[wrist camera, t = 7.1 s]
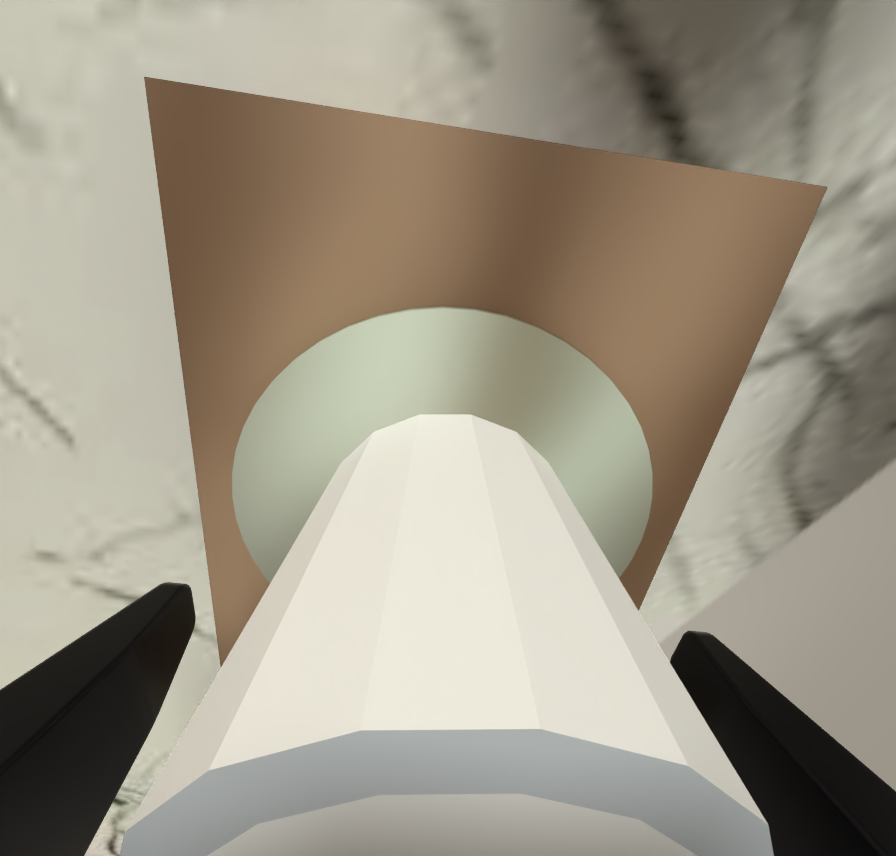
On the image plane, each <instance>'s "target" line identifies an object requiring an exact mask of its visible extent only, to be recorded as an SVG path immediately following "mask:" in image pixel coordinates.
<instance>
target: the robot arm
mask: <svg viewBox="0 0 896 856" xmlns="http://www.w3.org/2000/svg"><path fill="white" fill-rule="evenodd" d="M194 626H195V610H194V604H193V598H192V591H191V588H190V587H189V585H187V584H181V583H170V582H166V583H163V584H160V585H159V586H157V587H156V588H154V589H152V590H151V591H149V592H148V593H146V594H145V595H143V596H142V597H140V598H139V599H137V600H136V601H134V602H133V603H131V604H130V605H128V606H127V607H125V608H124V609H122V610H121V611H119V612H118V613H116V614H115V615H113V616H112V617H110V618H108V619H107V620H105V621H104V622H102V623H101V624H99V625H98V626H96V627H95V628H93V629H92V630H90V631H89V632H87V633H86V634H84V635H83V636H81V637H80V638H78V639H77V640H75V641H74V642H72V643H71V644H69V645H68V646H66V647H65V648H63V649H61V650H60V651H58V652H57V653H55V654H54V655H52V656H51V657H49V658H48V659H46V660H45V661H43V662H42V663H40V664H39V665H37V666H36V667H34V668H33V669H31V670H30V671H28V672H27V673H25V674H24V675H22V676H21V677H19V678H18V679H16V680H14V681H13V682H11V683H10V684H8V685H7V686H5V687H4V688H2V689H1V690H0V856H84V855H85V853H86V851H87V849H88V847H89V845H90V844H91V842H92V840H93V838H94V836H95V834H96V832H97V830H98V829H99V827H100V825H101V823H102V821H103V819H104V817H105V815H106V814H107V812H108V810H109V808H110V806H111V804H112V802H113V800H114V799H115V797H116V795H117V793H118V791H119V789H120V787H121V785H122V784H123V782H124V780H125V778H126V776H127V774H128V772H129V770H130V769H131V767H132V765H133V763H134V761H135V759H136V757H137V755H138V754H139V752H140V750H141V748H142V746H143V744H144V742H145V740H146V738H147V737H148V735H149V733H150V731H151V729H152V727H153V725H154V723H155V720H156V718H157V716H158V714H159V711H160V709H161V707H162V704H163V702H164V700H165V697H166V695H167V692H168V690H169V688H170V685H171V683H172V680H173V678H174V675H175V673H176V671H177V668H178V666H179V663H180V661H181V659H182V656H183V654H184V651H185V649H186V647H187V644H188V642H189V639H190V637H191V635H192V632H193V629H194ZM670 664H671V665H672V667H673V669H674V670H675V672H676V674H677V675H678V677H679V679H680V680H681V682H682V683H683V685H684V687H685V688H686V690H687V692H688V693H689V695H690V697H691V698H692V700H693V702H694V703H695V705H696V707H697V708H698V710H699V711H700V713H701V715H702V716H703V718H704V720H705V721H706V723H707V725H708V726H709V728H710V730H711V731H712V733H713V735H714V736H715V738H716V739H717V741H718V743H719V744H720V746H721V748H722V749H723V751H724V753H725V754H726V756H727V758H728V759H729V761H730V763H731V764H732V766H733V767H734V769H735V771H736V772H737V774H738V776H739V777H740V779H741V781H742V782H743V784H744V786H745V787H746V789H747V790H748V792H749V794H750V795H751V797H752V799H753V800H754V802H755V804H756V805H757V807H758V809H759V810H760V812H761V814H762V815H763V817H764V818H765V820H766V822H767V823H768V826H769V832H770V837H771V843H772V848H773V854H774V856H896V792H895V790H893V789H892V788H891V787H890V786H889V785H887V784H886V783H885V782H884V781H883V780H882V779H881V778H879V777H878V776H877V775H876V774H875V773H873V772H872V771H871V770H870V769H869V768H868V767H867V766H865V765H864V764H863V763H862V762H861V761H859V760H858V759H857V758H856V757H855V756H854V755H852V754H851V753H850V752H849V751H848V750H847V749H845V748H844V747H843V746H842V745H841V744H839V743H838V742H837V741H836V740H835V739H834V738H833V737H831V736H830V735H829V734H828V733H827V732H826V731H824V730H823V729H822V728H821V727H820V726H819V725H817V724H816V723H815V722H814V721H813V720H811V719H810V718H809V717H808V716H807V715H806V714H804V713H803V712H802V711H801V710H800V709H799V708H797V707H796V706H795V705H794V704H793V703H792V702H790V701H789V700H788V699H787V698H786V697H784V696H783V695H782V694H781V693H780V692H779V691H778V690H776V689H775V688H774V687H773V686H772V685H771V684H769V683H768V682H767V681H766V680H765V679H763V678H762V677H761V676H760V675H759V674H758V673H756V672H755V671H754V670H753V669H752V668H751V667H750V666H748V665H747V664H746V663H745V662H744V661H742V660H741V659H740V658H739V657H738V656H737V655H735V654H734V653H733V652H732V651H731V650H730V649H728V648H727V647H726V646H725V645H724V644H723V643H721V642H720V641H719V640H718V639H717V638H716V637H714V636H713V635H711V634H710V633H707V632H696V631H687V632H686V633H685V634H684V635H683V636H682V639H681V640H680V642H679V644H678V646H677V648H676V650H675V652H674V653H673V655H672V657H671V661H670Z"/></svg>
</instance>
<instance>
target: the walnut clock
mask: <svg viewBox="0 0 896 856" xmlns="http://www.w3.org/2000/svg"><path fill="white" fill-rule="evenodd" d="M144 79H145V87H146V95H147V102H148V110H149V118H150V125H151V133H152V141H153V149H154V156H155V164H156V172H157V179H158V187H159V195H160V202H161V210H162V218H163V226H164V233H165V241H166V249H167V256H168V264H169V272H170V280H171V287H172V295H173V303H174V310H175V318H176V326H177V333H178V341H179V349H180V357H181V364H182V372H183V380H184V387H185V395H186V403H187V410H188V418H189V426H190V434H191V441H192V449H193V457H194V464H195V472H196V480H197V488H198V495H199V503H200V511H201V518H202V526H203V534H204V541H205V549H206V557H207V565H208V572H209V580H210V588H211V595H212V603H213V611H214V618H215V626H216V634H217V642H218V649H219V657H220V665H221V667H222V665H223V663H224V662H225V660H226V658H227V656H228V655H229V653H230V651H231V650H232V648H233V646H234V645H235V643H236V641H237V639H238V638H239V636H240V634H241V633H242V631H243V629H244V627H245V626H246V624H247V622H248V621H249V619H250V617H251V616H252V614H253V612H254V610H255V609H256V607H257V605H258V604H259V602H260V600H261V598H262V597H263V595H264V593H265V592H266V590H267V588H268V587H269V585H270V583H271V581H272V580H273V578H274V576H275V575H276V573H277V571H278V570H279V568H280V566H281V564H282V563H283V561H284V559H285V558H286V556H287V554H288V552H289V551H290V549H291V547H292V546H293V544H294V542H295V541H296V539H297V537H298V535H299V534H300V532H301V530H302V529H303V527H304V525H305V523H306V522H307V520H308V518H309V517H310V515H311V513H312V512H313V510H314V508H315V506H316V505H317V503H318V501H319V500H320V498H321V496H322V494H323V493H324V491H325V489H326V488H327V486H328V484H329V483H330V481H331V479H332V477H333V476H334V474H335V472H336V471H337V469H338V467H339V466H340V464H341V462H342V461H343V460H344V459H345V458H347V457H348V456H349V455H350V454H351V453H352V452H353V451H354V450H355V449H356V448H357V447H358V446H359V445H360V444H361V443H362V442H363V441H364V440H365V439H366V438H368V437H369V436H370V435H371V434H372V433H373V432H374V431H377V430H380V429H382V428H385V427H388V426H390V425H393V424H395V423H398V422H401V421H403V420H406V419H409V418H411V417H414V416H417V415H419V414H471V415H474V416H476V417H479V418H482V419H484V420H487V421H489V422H492V423H495V424H497V425H500V426H503V427H505V428H508V429H510V430H513V431H516V432H517V433H518V434H519V435H520V436H521V437H522V438H523V439H525V440H526V441H527V442H528V443H529V444H530V445H531V446H532V447H533V448H534V449H535V450H536V451H537V452H538V453H539V454H540V455H541V456H542V457H543V458H544V459H545V460H546V461H547V462H548V463H549V464H550V466H551V468H552V469H553V471H554V473H555V474H556V476H557V478H558V479H559V481H560V483H561V484H562V486H563V487H564V489H565V491H566V492H567V494H568V496H569V497H570V499H571V501H572V502H573V504H574V506H575V507H576V509H577V511H578V512H579V514H580V515H581V517H582V519H583V520H584V522H585V524H586V525H587V527H588V529H589V530H590V532H591V534H592V535H593V537H594V539H595V540H596V542H597V543H598V545H599V547H600V548H601V550H602V552H603V553H604V555H605V557H606V558H607V560H608V562H609V563H610V565H611V567H612V568H613V570H614V571H615V573H616V575H617V576H618V578H619V580H620V581H621V583H622V585H623V586H624V588H625V590H626V591H627V593H628V595H629V596H630V598H631V599H632V601H633V603H634V604H635V606H636V608H637V609H638V611H639V609H640V606H641V604H642V602H643V600H644V598H645V595H646V593H647V591H648V589H649V586H650V584H651V582H652V580H653V577H654V575H655V573H656V571H657V568H658V566H659V564H660V562H661V559H662V557H663V555H664V553H665V550H666V548H667V546H668V544H669V541H670V539H671V537H672V535H673V533H674V530H675V528H676V526H677V524H678V521H679V519H680V517H681V515H682V512H683V510H684V508H685V506H686V503H687V501H688V499H689V497H690V494H691V492H692V490H693V488H694V485H695V483H696V481H697V479H698V476H699V474H700V472H701V470H702V468H703V465H704V463H705V461H706V459H707V456H708V454H709V452H710V450H711V447H712V445H713V443H714V441H715V438H716V436H717V434H718V432H719V429H720V427H721V425H722V423H723V420H724V418H725V416H726V414H727V411H728V409H729V407H730V405H731V402H732V400H733V398H734V396H735V394H736V391H737V389H738V387H739V385H740V382H741V380H742V378H743V376H744V373H745V371H746V369H747V367H748V364H749V362H750V360H751V358H752V355H753V353H754V351H755V349H756V346H757V344H758V342H759V340H760V337H761V335H762V333H763V331H764V329H765V326H766V324H767V322H768V320H769V317H770V315H771V313H772V311H773V308H774V306H775V304H776V302H777V299H778V297H779V295H780V293H781V290H782V288H783V286H784V284H785V281H786V279H787V277H788V275H789V272H790V270H791V268H792V266H793V264H794V261H795V259H796V257H797V255H798V252H799V250H800V248H801V246H802V243H803V241H804V239H805V237H806V234H807V232H808V230H809V228H810V225H811V223H812V221H813V219H814V216H815V214H816V212H817V210H818V207H819V205H820V203H821V201H822V199H823V196H824V194H825V192H826V190H827V187H825V186H819V185H812V184H806V183H800V182H794V181H788V180H781V179H775V178H769V177H763V176H757V175H750V174H744V173H738V172H732V171H726V170H719V169H713V168H707V167H701V166H695V165H688V164H682V163H676V162H670V161H664V160H657V159H651V158H645V157H639V156H633V155H626V154H620V153H614V152H608V151H602V150H595V149H589V148H583V147H577V146H571V145H564V144H558V143H552V142H546V141H540V140H533V139H527V138H521V137H515V136H509V135H502V134H496V133H490V132H484V131H478V130H471V129H465V128H459V127H453V126H447V125H440V124H434V123H428V122H422V121H416V120H410V119H403V118H397V117H391V116H385V115H379V114H372V113H366V112H360V111H354V110H348V109H341V108H335V107H329V106H323V105H317V104H310V103H304V102H298V101H292V100H286V99H279V98H273V97H267V96H261V95H255V94H248V93H242V92H236V91H230V90H224V89H217V88H211V87H205V86H199V85H193V84H186V83H180V82H174V81H168V80H162V79H155V78H149V77H144Z"/></svg>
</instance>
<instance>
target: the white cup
mask: <svg viewBox="0 0 896 856" xmlns="http://www.w3.org/2000/svg"><path fill="white" fill-rule="evenodd" d="M120 856H774V854H773V848H772V843H771V837H770V832H769V826H768V823H767V822H766V820H765V818H764V817H763V815H762V814H761V812H760V810H759V809H758V807H757V805H756V804H755V802H754V800H753V799H752V797H751V795H750V794H749V792H748V790H747V789H746V787H745V786H744V784H743V782H742V781H741V779H740V777H739V776H738V774H737V772H736V771H735V769H734V767H733V766H732V764H731V763H730V761H729V759H728V758H727V756H726V754H725V753H724V751H723V749H722V748H721V746H720V744H719V743H718V741H717V739H716V738H715V736H714V735H713V733H712V731H711V730H710V728H709V726H708V725H707V723H706V721H705V720H704V718H703V716H702V715H701V713H700V711H699V710H698V708H697V707H696V705H695V703H694V702H693V700H692V698H691V697H690V695H689V693H688V692H687V690H686V688H685V687H684V685H683V683H682V682H681V680H680V679H679V677H678V675H677V674H676V672H675V670H674V669H673V667H672V665H671V664H670V662H669V661H668V659H667V657H666V656H665V654H664V652H663V651H662V649H661V647H660V646H659V644H658V642H657V641H656V639H655V637H654V636H653V634H652V632H651V631H650V629H649V627H648V626H647V624H646V623H645V621H644V619H643V618H642V616H641V614H640V613H639V611H638V609H637V608H636V606H635V604H634V603H633V601H632V599H631V598H630V596H629V595H628V593H627V591H626V590H625V588H624V586H623V585H622V583H621V581H620V580H619V578H618V576H617V575H616V573H615V571H614V570H613V568H612V567H611V565H610V563H609V562H608V560H607V558H606V557H605V555H604V553H603V552H602V550H601V548H600V547H599V545H598V543H597V542H596V540H595V539H594V537H593V535H592V534H591V532H590V530H589V529H588V527H587V525H586V524H585V522H584V520H583V519H582V517H581V515H580V514H579V512H578V511H577V509H576V507H575V506H574V504H573V502H572V501H571V499H570V497H569V496H568V494H567V492H566V491H565V489H564V487H563V486H562V484H561V483H560V481H559V479H558V478H557V476H556V474H555V473H554V471H553V469H552V468H551V466H550V464H549V463H548V462H547V461H546V460H545V459H544V458H543V457H542V456H541V455H540V454H539V453H538V452H537V451H536V450H535V449H534V448H533V447H532V446H531V445H530V444H529V443H528V442H527V441H526V440H525V439H523V438H522V437H521V436H520V435H519V434H518V433H517V432H516V431H513V430H510V429H508V428H505V427H503V426H500V425H497V424H495V423H492V422H489V421H487V420H484V419H482V418H479V417H476V416H474V415H471V414H419V415H417V416H414V417H411V418H409V419H406V420H403V421H401V422H398V423H395V424H393V425H390V426H388V427H385V428H382V429H380V430H377V431H374V432H373V433H372V434H371V435H370V436H369V437H368V438H366V439H365V440H364V441H363V442H362V443H361V444H360V445H359V446H358V447H357V448H356V449H355V450H354V451H353V452H352V453H351V454H350V455H349V456H348V457H347V458H345V459H344V460H343V461H342V462H341V464H340V466H339V467H338V469H337V471H336V472H335V474H334V476H333V477H332V479H331V481H330V483H329V484H328V486H327V488H326V489H325V491H324V493H323V494H322V496H321V498H320V500H319V501H318V503H317V505H316V506H315V508H314V510H313V512H312V513H311V515H310V517H309V518H308V520H307V522H306V523H305V525H304V527H303V529H302V530H301V532H300V534H299V535H298V537H297V539H296V541H295V542H294V544H293V546H292V547H291V549H290V551H289V552H288V554H287V556H286V558H285V559H284V561H283V563H282V564H281V566H280V568H279V570H278V571H277V573H276V575H275V576H274V578H273V580H272V581H271V583H270V585H269V587H268V588H267V590H266V592H265V593H264V595H263V597H262V598H261V600H260V602H259V604H258V605H257V607H256V609H255V610H254V612H253V614H252V616H251V617H250V619H249V621H248V622H247V624H246V626H245V627H244V629H243V631H242V633H241V634H240V636H239V638H238V639H237V641H236V643H235V645H234V646H233V648H232V650H231V651H230V653H229V655H228V656H227V658H226V660H225V662H224V663H223V665H222V667H221V668H220V670H219V672H218V673H217V675H216V677H215V679H214V680H213V682H212V684H211V685H210V687H209V689H208V691H207V692H206V694H205V696H204V697H203V699H202V701H201V702H200V704H199V706H198V708H197V709H196V711H195V713H194V714H193V716H192V718H191V720H190V721H189V723H188V725H187V726H186V728H185V730H184V731H183V733H182V735H181V737H180V738H179V740H178V742H177V743H176V745H175V747H174V749H173V750H172V752H171V754H170V755H169V757H168V759H167V760H166V762H165V764H164V766H163V767H162V769H161V771H160V772H159V774H158V776H157V777H156V779H155V781H154V783H153V784H152V786H151V788H150V789H149V791H148V793H147V795H146V796H145V798H144V800H143V801H142V803H141V805H140V806H139V808H138V810H137V812H136V813H135V815H134V817H133V818H132V820H131V822H130V824H129V825H128V827H127V829H126V830H125V833H124V837H123V842H122V847H121V852H120Z"/></svg>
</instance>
